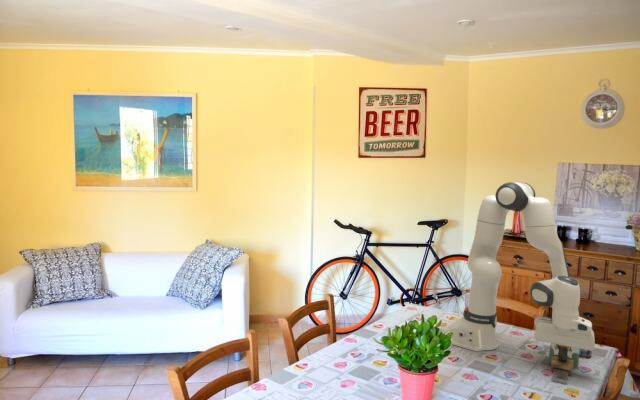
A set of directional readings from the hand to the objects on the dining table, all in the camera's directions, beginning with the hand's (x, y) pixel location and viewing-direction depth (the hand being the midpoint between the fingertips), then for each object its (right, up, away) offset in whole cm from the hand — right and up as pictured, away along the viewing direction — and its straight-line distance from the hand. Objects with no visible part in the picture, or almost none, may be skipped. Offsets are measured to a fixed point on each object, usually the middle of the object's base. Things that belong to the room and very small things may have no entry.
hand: (562, 356), depth 181 cm
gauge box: (+4, -5, +7) cm, 10 cm away
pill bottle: (+15, -5, +14) cm, 21 cm away
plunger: (+4, -3, +7) cm, 9 cm away
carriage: (0, -6, +1) cm, 6 cm away
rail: (-2, -6, -3) cm, 7 cm away
